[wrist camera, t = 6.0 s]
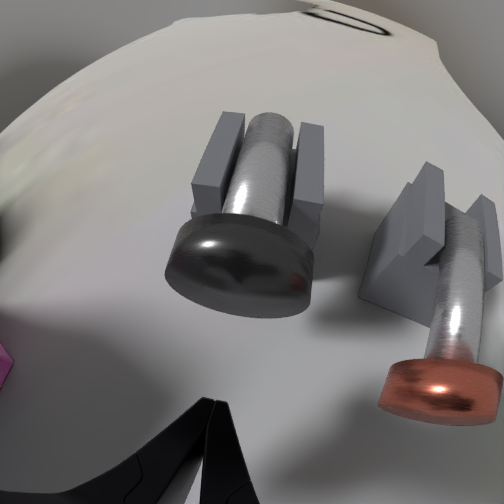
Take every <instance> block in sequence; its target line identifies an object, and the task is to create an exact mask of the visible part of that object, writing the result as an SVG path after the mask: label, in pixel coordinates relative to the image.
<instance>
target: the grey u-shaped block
mask: <svg viewBox="0 0 504 504" xmlns="http://www.w3.org/2000/svg"><path fill="white" fill-rule="evenodd" d="M244 131H245V114H243V113H234V112H223V113H222V115H221V117H220V119H219V121H218V123H217V125H216V127H215V130H214V132H213V134H212V136H211V138H210V141H209V143H208V145H207V147H206V150H205V152H204V154H203V157H202V159H201V161H200V164H199V166H198V168H197V171H196V173H195V175H194V178H193V180H192V183H191V185H192V191H193V196H194V203H193V206H192V209H191V216H192V219H194V218H196V217H199V216H203V215H207V214H214V213H222V210H223V206H224V203H225V199H226V196H227V193H228V189H229V186H230V183H231V179H232V176H233V173H234V170H235V166H236V163H237V160H238V157H239V154H240V150H241V147H242V144H243V141H244ZM323 203H324V126H320V125H315V124H309V123H304V122H301V126H300V132H299V137H298V142H297V147H296V149H292V153H291V162H290V170H289V178H288V185H287V193H286V201H285V208H284V216H283V223H282V226H283V227H285V228H287V229H289V230H291V231H292V232H294V233H295V234H297V235H298V236H299V237H301V238H302V239H303V240H304V241H305V242H306V243H307V245H308V246H309V247H310V249H311V251H312V249H313V246H314V244H315V242H316V239H317V237H318V235H319V229H320V212H321V209H322V207H323Z"/></svg>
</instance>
